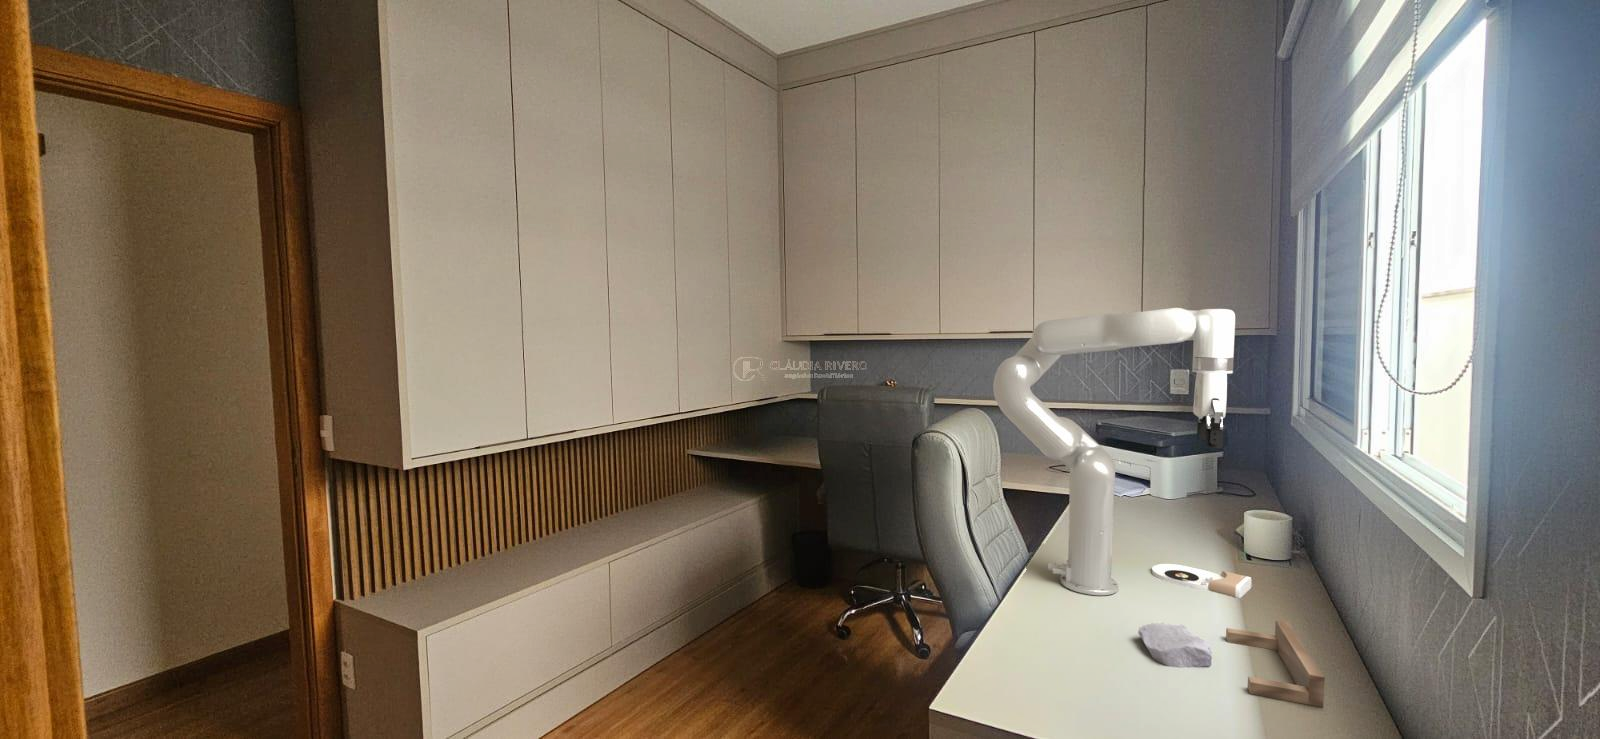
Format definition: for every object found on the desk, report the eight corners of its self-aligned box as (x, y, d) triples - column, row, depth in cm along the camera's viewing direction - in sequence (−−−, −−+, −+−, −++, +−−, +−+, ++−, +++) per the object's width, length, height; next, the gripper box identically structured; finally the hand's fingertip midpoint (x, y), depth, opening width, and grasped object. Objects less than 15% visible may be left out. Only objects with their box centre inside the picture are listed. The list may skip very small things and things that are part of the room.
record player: (1238, 588, 150) (1144, 565, 165) (1237, 601, 150) (1144, 578, 165) (1253, 575, 158) (1162, 554, 173) (1252, 588, 158) (1162, 566, 173)
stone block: (1164, 678, 121) (1218, 667, 121) (1159, 652, 121) (1213, 642, 120) (1132, 649, 133) (1182, 639, 132) (1127, 625, 132) (1177, 615, 132)
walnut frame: (1250, 693, 112) (1251, 664, 112) (1225, 637, 132) (1227, 613, 132) (1323, 707, 108) (1324, 677, 108) (1286, 647, 128) (1288, 622, 128)
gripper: (1186, 363, 154) (1183, 436, 155) (1199, 367, 138) (1195, 449, 140) (1224, 364, 151) (1221, 438, 153) (1241, 368, 136) (1238, 452, 137)
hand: (1209, 443), depth 146 cm, fingers open, 9 cm apart
